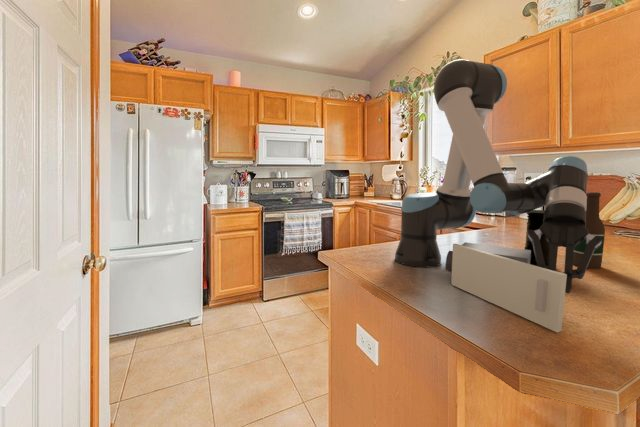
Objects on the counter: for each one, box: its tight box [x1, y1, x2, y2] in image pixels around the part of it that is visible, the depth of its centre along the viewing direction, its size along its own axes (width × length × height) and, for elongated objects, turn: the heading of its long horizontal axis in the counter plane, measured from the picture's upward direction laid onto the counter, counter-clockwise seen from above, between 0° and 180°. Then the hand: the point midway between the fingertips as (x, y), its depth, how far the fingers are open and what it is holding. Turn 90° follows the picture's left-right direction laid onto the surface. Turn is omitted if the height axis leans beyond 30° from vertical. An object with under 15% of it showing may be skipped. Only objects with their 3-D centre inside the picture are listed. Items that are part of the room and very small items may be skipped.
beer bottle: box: [573, 191, 606, 270], centre depth 100 cm, size 8×8×24 cm
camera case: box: [445, 242, 531, 273], centre depth 83 cm, size 19×10×10 cm, turn 52°
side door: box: [450, 243, 567, 333], centre depth 70 cm, size 28×2×11 cm, turn 19°
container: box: [523, 209, 551, 266], centre depth 101 cm, size 9×9×18 cm
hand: (557, 305), depth 60 cm, fingers closed
